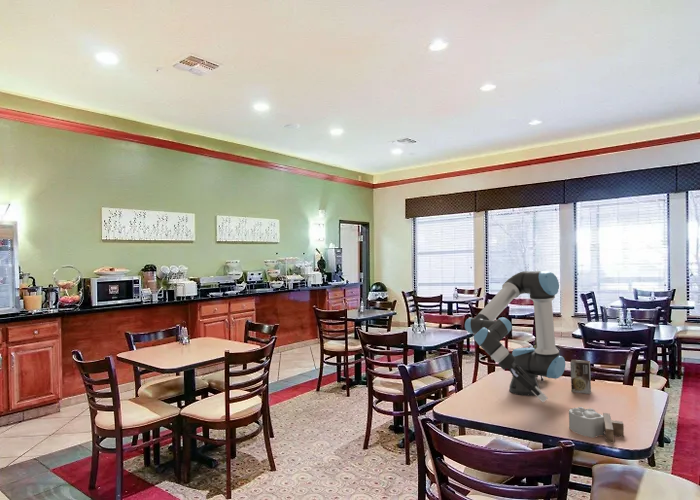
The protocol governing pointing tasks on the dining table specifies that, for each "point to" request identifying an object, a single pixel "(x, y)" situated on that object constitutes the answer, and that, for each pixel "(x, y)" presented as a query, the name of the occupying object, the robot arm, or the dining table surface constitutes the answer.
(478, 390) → the dining table surface
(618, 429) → the t stop
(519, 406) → the dining table surface
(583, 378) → the coffee box
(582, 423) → the lumpy-topped squat cylinder
